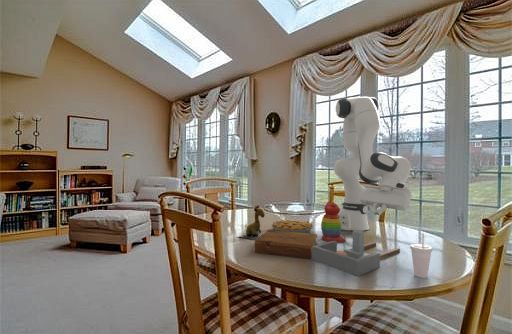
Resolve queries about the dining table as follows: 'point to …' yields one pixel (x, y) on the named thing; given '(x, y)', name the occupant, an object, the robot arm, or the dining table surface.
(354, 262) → the grey walled tray
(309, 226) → the pie
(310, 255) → the diary
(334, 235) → the stacking bear
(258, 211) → the stuffed giraffe
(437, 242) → the dining table surface
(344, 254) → the ball
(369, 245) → the lane
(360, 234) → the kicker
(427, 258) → the smoothie
